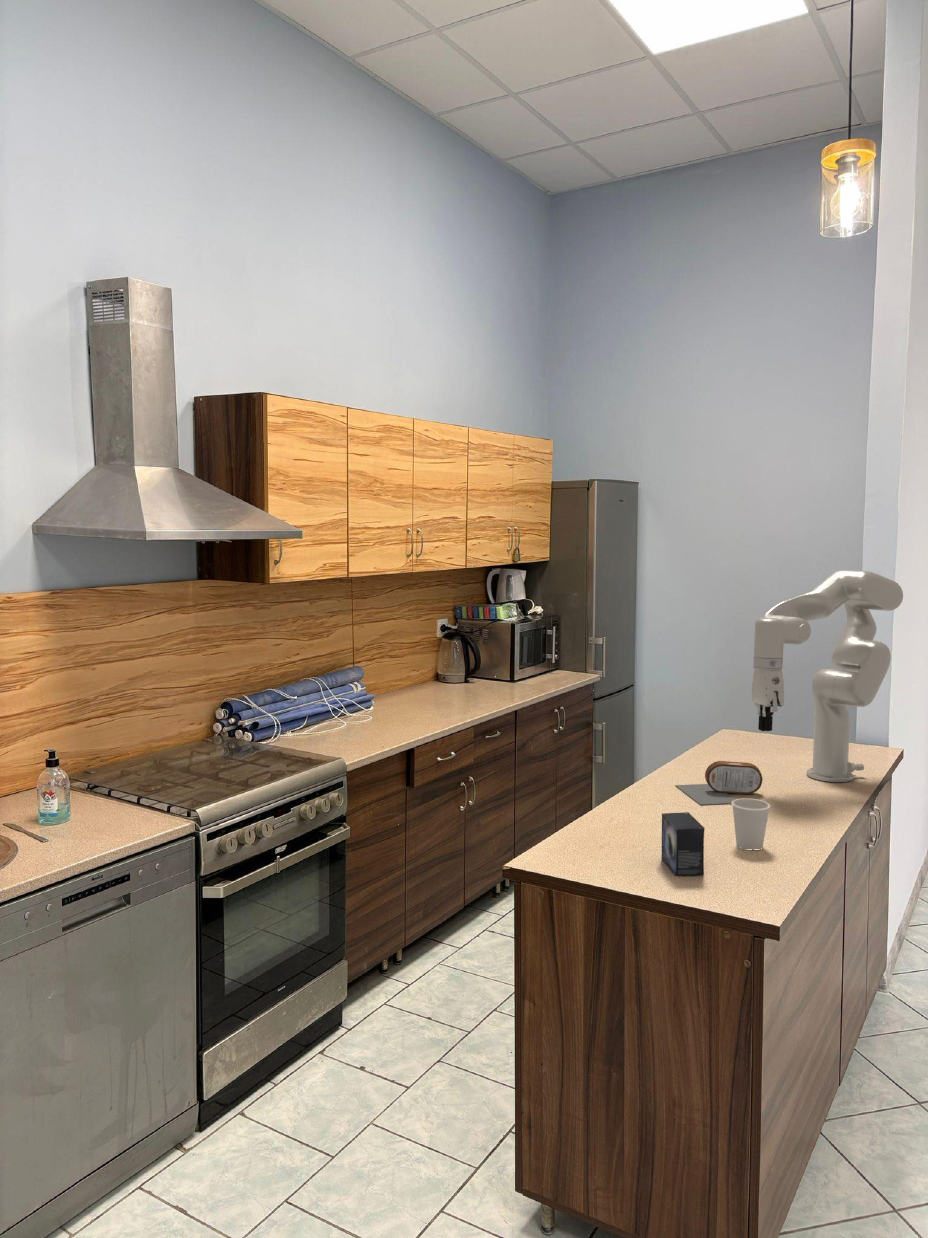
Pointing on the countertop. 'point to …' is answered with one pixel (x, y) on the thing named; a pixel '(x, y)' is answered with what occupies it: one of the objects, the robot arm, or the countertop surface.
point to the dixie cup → (750, 822)
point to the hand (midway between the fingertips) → (765, 730)
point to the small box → (683, 844)
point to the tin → (733, 777)
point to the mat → (705, 794)
